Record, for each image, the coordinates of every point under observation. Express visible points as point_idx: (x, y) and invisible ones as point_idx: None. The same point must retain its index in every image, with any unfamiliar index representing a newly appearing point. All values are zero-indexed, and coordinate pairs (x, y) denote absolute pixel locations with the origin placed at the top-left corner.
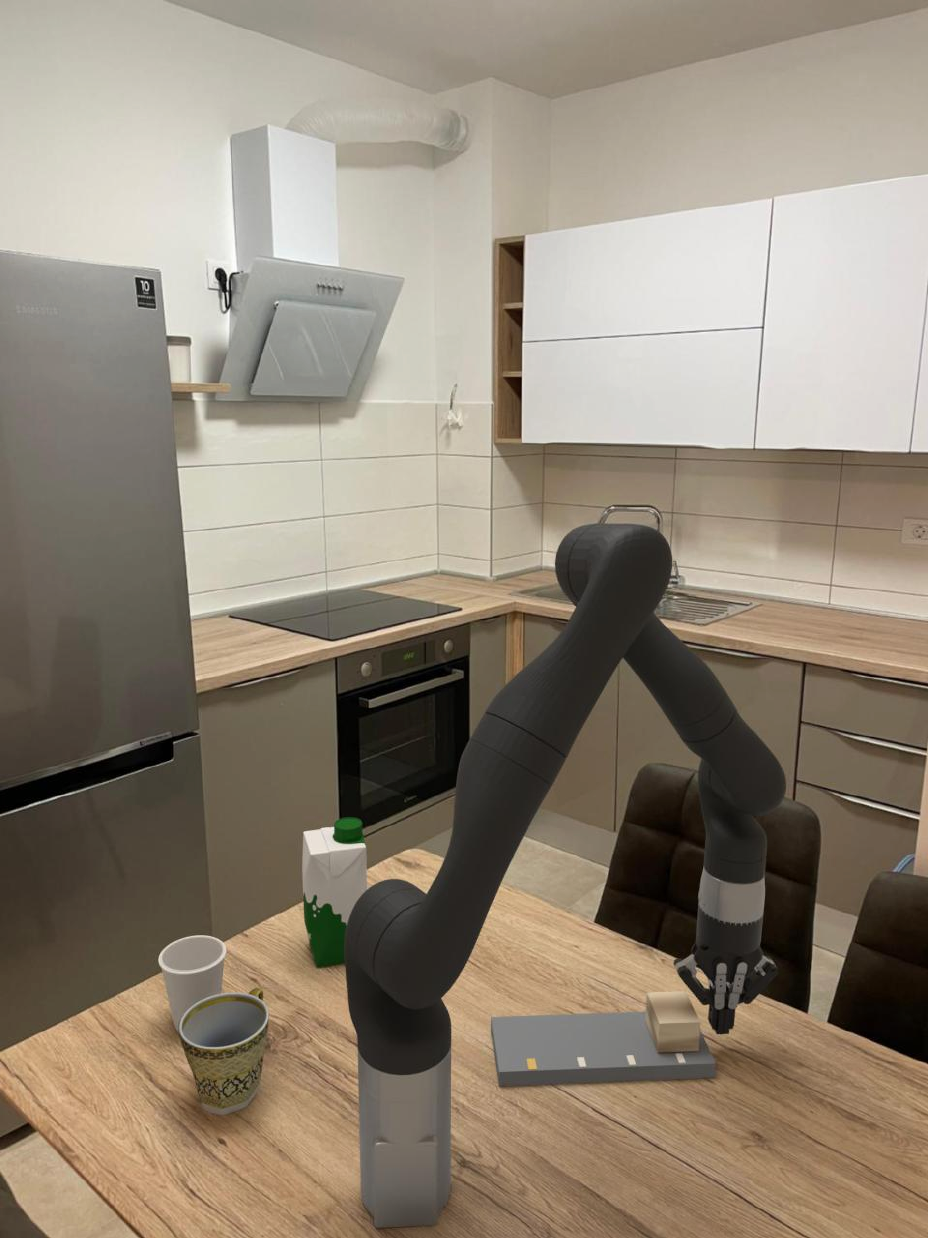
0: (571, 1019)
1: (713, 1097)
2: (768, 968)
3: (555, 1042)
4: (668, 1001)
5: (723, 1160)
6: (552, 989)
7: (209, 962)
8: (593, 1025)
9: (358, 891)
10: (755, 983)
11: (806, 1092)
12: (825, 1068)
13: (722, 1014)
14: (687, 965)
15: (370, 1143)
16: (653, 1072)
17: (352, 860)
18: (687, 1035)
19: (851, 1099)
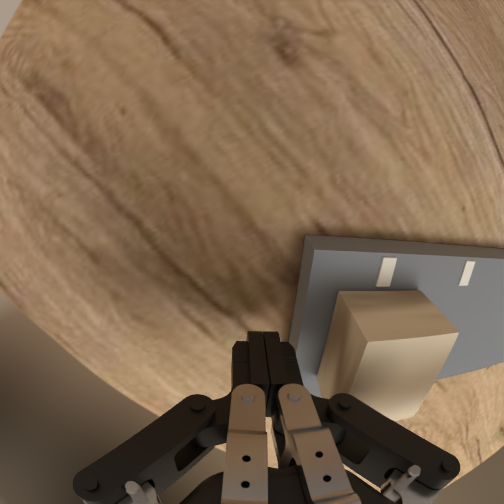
0: (475, 362)
1: (334, 177)
2: (109, 500)
3: None
4: (392, 401)
5: (381, 19)
6: (430, 415)
7: None
8: (462, 353)
9: None
10: (165, 457)
11: (109, 171)
12: (52, 240)
13: (277, 372)
14: (429, 496)
15: None
16: (433, 249)
17: None
18: (382, 315)
19: (35, 150)
